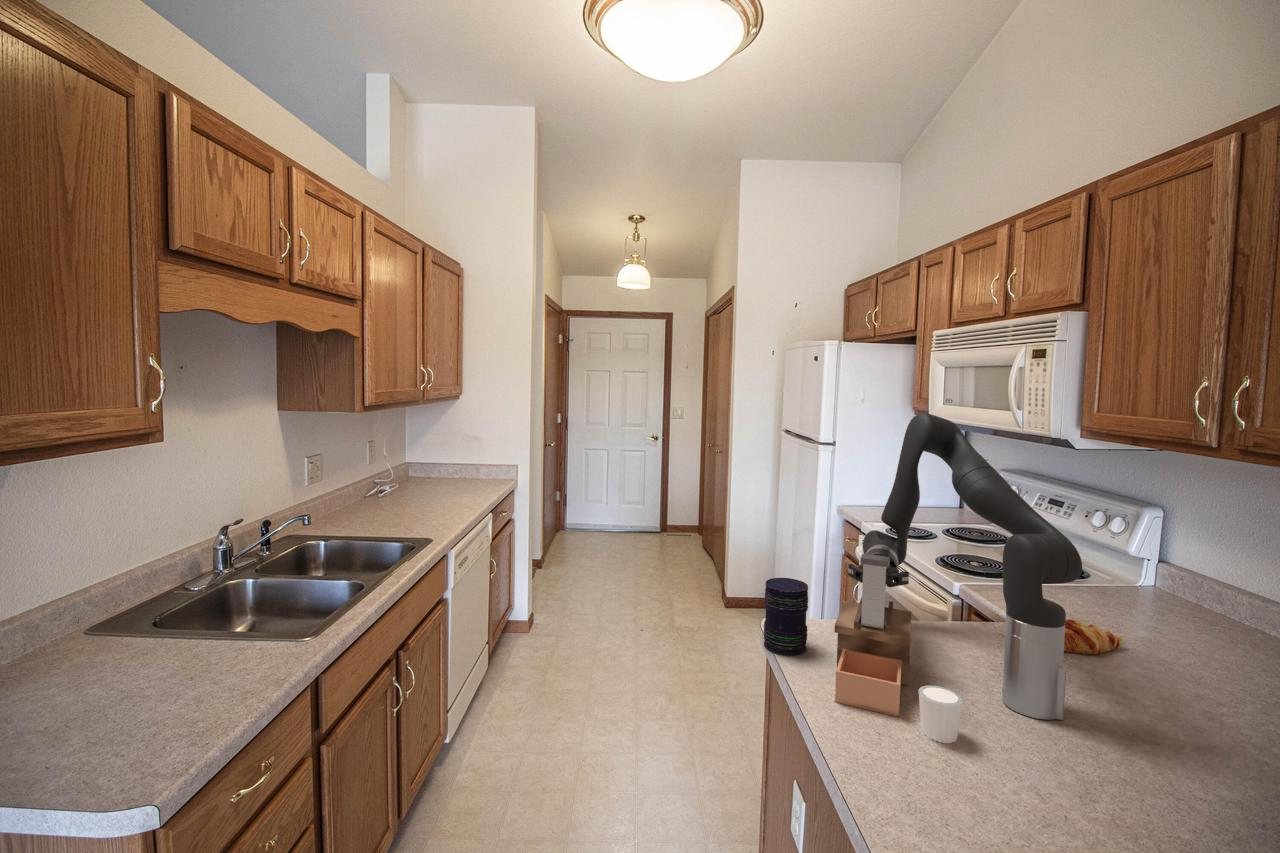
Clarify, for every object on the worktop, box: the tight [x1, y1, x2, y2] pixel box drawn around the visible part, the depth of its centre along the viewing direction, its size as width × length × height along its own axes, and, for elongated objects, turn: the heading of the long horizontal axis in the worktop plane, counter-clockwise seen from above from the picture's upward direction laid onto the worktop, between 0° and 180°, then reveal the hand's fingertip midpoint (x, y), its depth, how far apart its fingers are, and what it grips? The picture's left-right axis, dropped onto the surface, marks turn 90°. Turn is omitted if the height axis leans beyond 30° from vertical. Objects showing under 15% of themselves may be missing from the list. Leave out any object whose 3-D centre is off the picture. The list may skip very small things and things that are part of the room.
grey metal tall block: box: [860, 553, 890, 629], centre depth 115 cm, size 5×4×14 cm
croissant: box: [1064, 618, 1125, 655], centre depth 135 cm, size 21×10×8 cm, turn 92°
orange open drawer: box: [834, 649, 902, 718], centre depth 111 cm, size 11×11×6 cm
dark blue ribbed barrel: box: [763, 577, 809, 657], centre depth 132 cm, size 10×10×15 cm
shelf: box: [833, 596, 912, 686], centre depth 120 cm, size 14×16×14 cm
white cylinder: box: [918, 685, 964, 744], centre depth 99 cm, size 7×7×7 cm
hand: (874, 585), depth 117 cm, fingers closed
